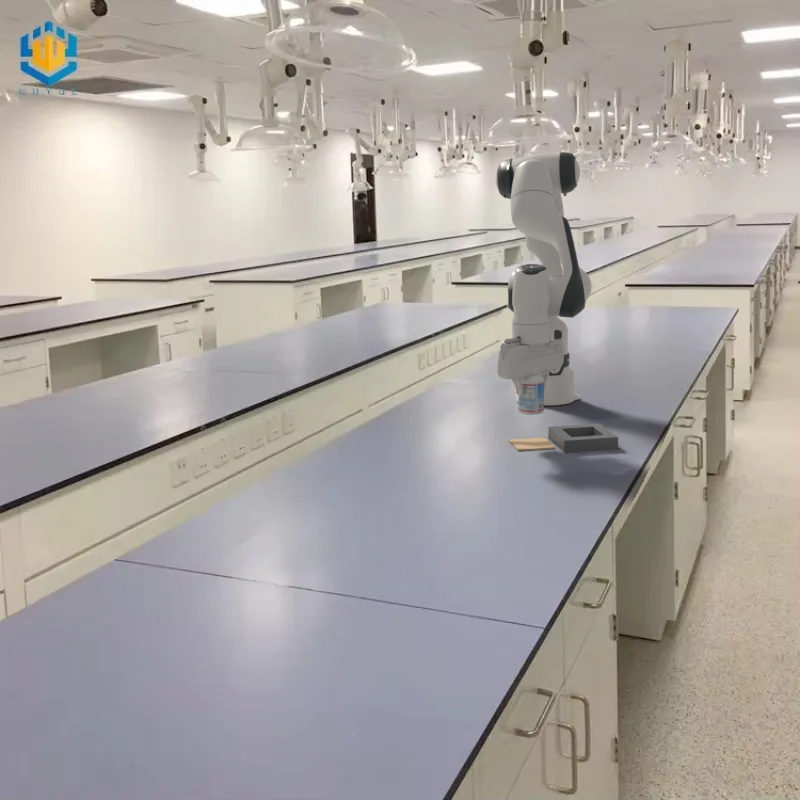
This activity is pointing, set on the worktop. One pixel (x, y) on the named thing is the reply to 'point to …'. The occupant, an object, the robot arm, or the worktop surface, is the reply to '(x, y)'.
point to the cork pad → (531, 444)
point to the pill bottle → (532, 394)
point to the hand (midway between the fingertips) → (530, 391)
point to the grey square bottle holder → (582, 438)
